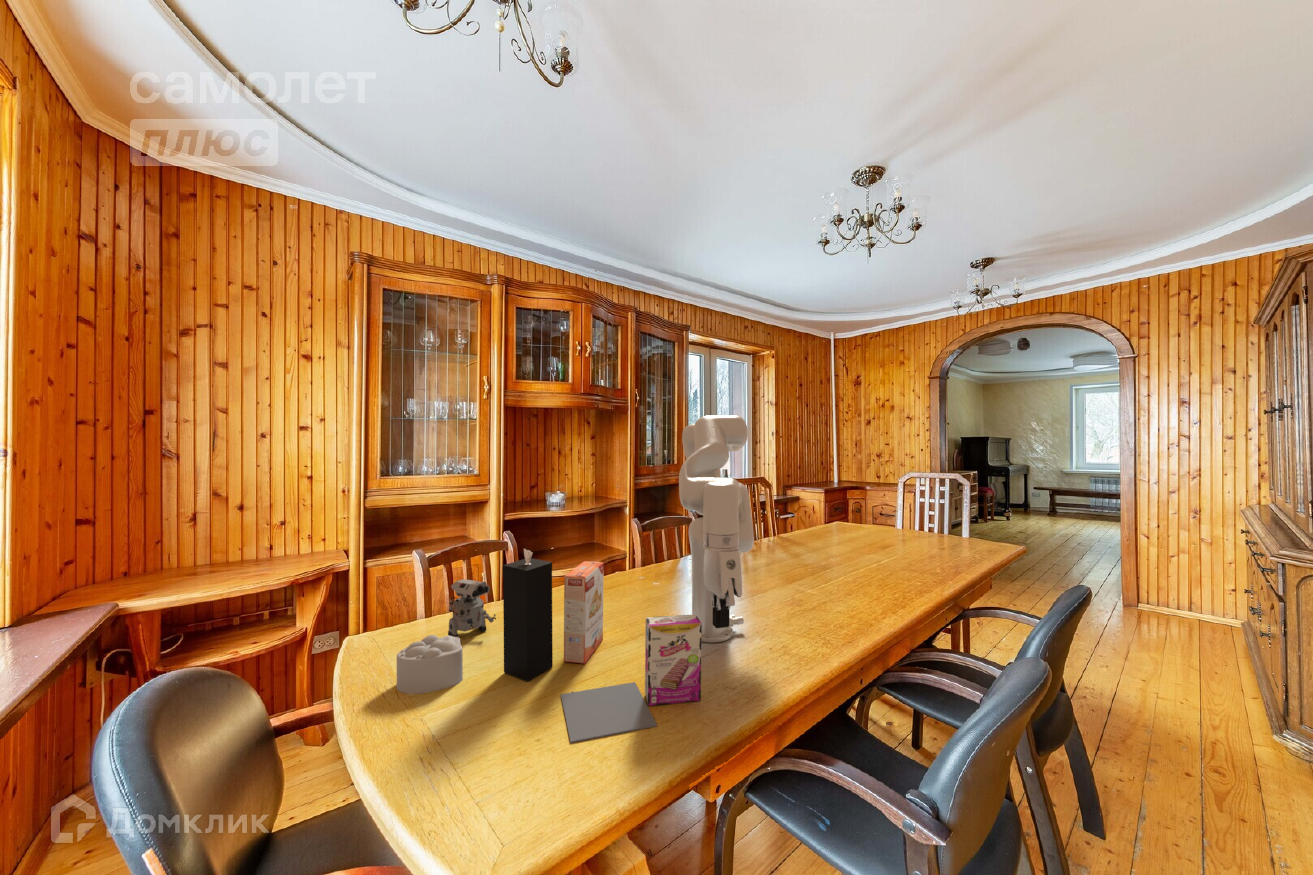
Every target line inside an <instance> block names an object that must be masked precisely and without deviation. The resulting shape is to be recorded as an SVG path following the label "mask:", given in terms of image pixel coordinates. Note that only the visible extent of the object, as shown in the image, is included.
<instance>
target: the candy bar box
mask: <svg viewBox="0 0 1313 875" xmlns="http://www.w3.org/2000/svg"><path fill="white" fill-rule="evenodd" d="M701 634H702V623H701V621H700V620H699V619H698V617H697V615H692V614H683V615H666V616H665V615H664V616H648V617H647V616H646V617H645V636H644V637H645V642H644V644H645V647H644V648H645V651H644V652H645V658H644V659H645V660H644V663H645V665H644V666H645V667H644V694H645V697H646V702H647V703H646V704H647V706H648V707H649V706H650V707H651V706H660V705H661V706H663V705H671V704H672V705H673V704H681V703H691V702H692V703H693V702H700V701H701V699H702V696H701V694H702V692H701V691H702V642H701Z"/></svg>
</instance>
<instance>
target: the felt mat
mask: <svg viewBox="0 0 1313 875" xmlns="http://www.w3.org/2000/svg"><path fill="white" fill-rule="evenodd" d="M560 697H561V703H562V709H563V713H564V716H565V717H564V718H565V723H566V727H567V732H568V737H569V742H570V744H574V743H579V742H584V741H588V740H594V739H599V738H604V737H608V736H615V735H619V734H624V733H629V732H635V731H640V730H646V729H650V728H654V727H658V724H657V722H656V720H655V718H654V716H653V714H652V713H651V710H650V709H649V706H648V703H646V702H647V701H645V699H644V697H643V694H642V693H641V691H640V688H639V686H638V685H637V683H636V681H633V682H627V683H621V684H615V685H609V686H602V687H598V688H597V687H596V688H589V689H585V690H579V691H573V692H566V693H562V694H561V693H560Z"/></svg>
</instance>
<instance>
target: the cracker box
mask: <svg viewBox="0 0 1313 875" xmlns="http://www.w3.org/2000/svg"><path fill="white" fill-rule="evenodd" d="M604 564H605V563H604V562H602V561H587V560H585V561H583V562H581V563H580V564H579V565H577V566H576V567H574V568H573V569H572V570H570V572H568V573H567V574H565V575H564V579H563V580H564V583H563V584H564V585H563V586H564V591H563V593H564V595H563V662H565V663H573V664H574V663H575V664H581V665H582V664H583V665H584V664H586V663H587V662H588V660H589V659H590V658H591V656H592V655H593V653H595V651H596V650H597V648H598V647H599V645H600V644H601V643H602V642H603V639H604V569H605V568H604Z"/></svg>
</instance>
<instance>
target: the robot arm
mask: <svg viewBox="0 0 1313 875" xmlns="http://www.w3.org/2000/svg"><path fill="white" fill-rule="evenodd" d="M748 429H749V428H748V425H747V423H746V421H745V419H744V418H743V417H741V416H740V415H732V414H731V415H721V414H719V415H715V414H713V415H703V416H702V417H699V418H698V419H697V420H696V421H695V423H691V424H688V425H687V426H685V427H684V429H683V430H682V435H681V437H682V438H681V440H682V448H683V451H684V452H683V454H684V456H685V458H686V459H685V461H684V462H683V464H682V466H681V468H680V470H679V476H678V490H679V491H678V494H679V495H678V496H679V501H680V504H681V506H682V507H683V508H684V509H685V510H687V511H691V512H692V511H694V512H696V513H697V515H700V516H701V517H697V518H695V519H693V520H692V521H691V522H690V524H689V526H688V540H689V545H690V546H689V547H690V555H691V615H697V617H698V619H699V620H700V621H701V623H702V634H701V643H721V642H725V641H727V640H730V639H731V638H732V637H733V636H734V635H733V634H734V628H732V627H734V626H736V625H737V626H738V625H744V622H745V621H744V618H743V616H737V617H736V615H735V614H730V610H731V607H733V606H735V605H736V600H735V597H737V598H741V597H742V596H743V576H742V574H743V573H742V563H741V557H740V556H741V554H745V553H748V552H750V551H752V549H753V547H754V544H755V535H754V525H753V515H752V509H751V500H750V493H749V490H748V487H747V486H746V485H745V484H744V483H741V482H739V481H738V480H737V479H736V478H732V477H722V472H721V469H722V468H723V467H724V466H725V465H727V463H728V461H729V458H730V452H738V451H740V450H741V449H742V448H743V447H744V446H745V445H746V443H747V442H748V441H747V440H748V436H749V435H748V433H749V432H748Z"/></svg>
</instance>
